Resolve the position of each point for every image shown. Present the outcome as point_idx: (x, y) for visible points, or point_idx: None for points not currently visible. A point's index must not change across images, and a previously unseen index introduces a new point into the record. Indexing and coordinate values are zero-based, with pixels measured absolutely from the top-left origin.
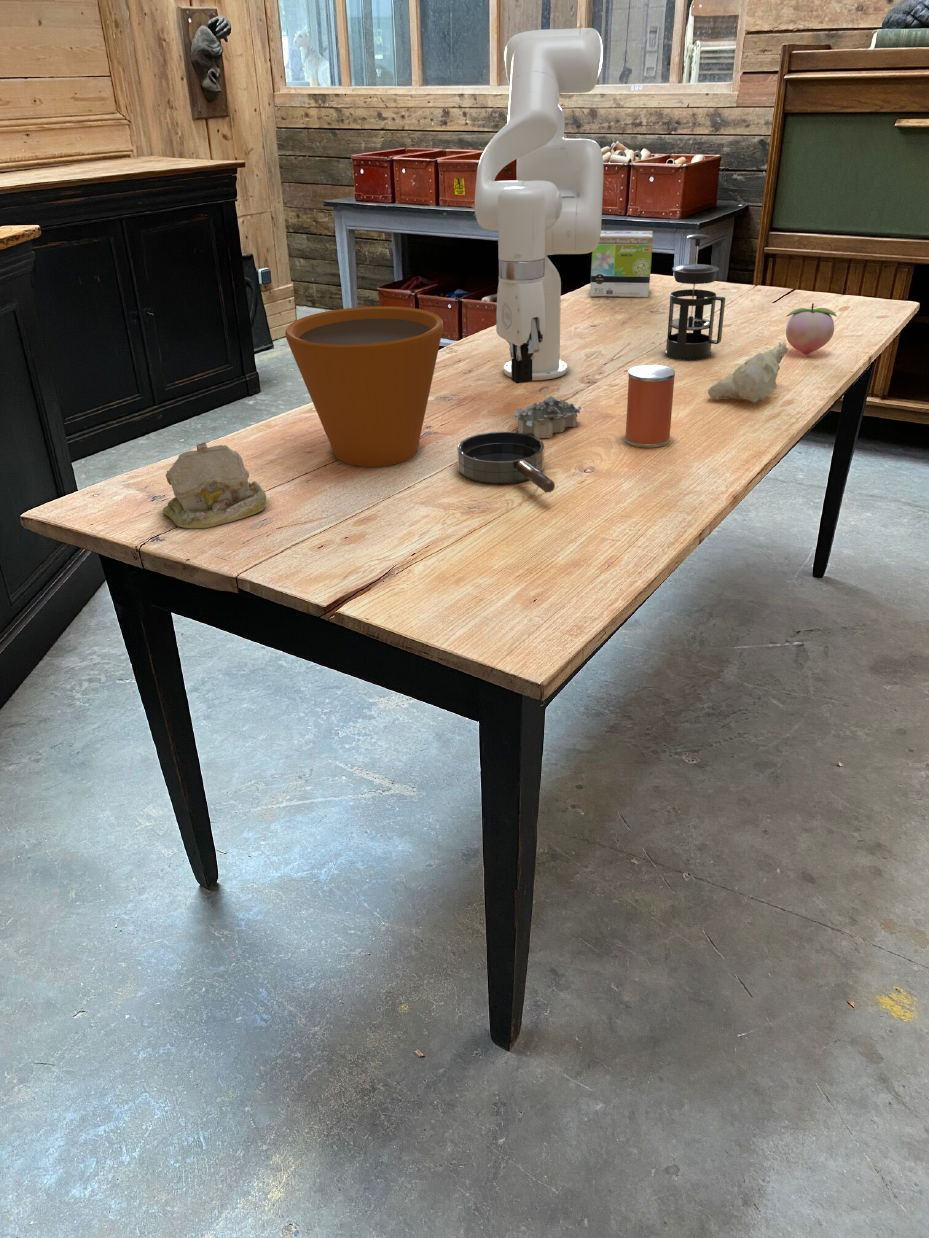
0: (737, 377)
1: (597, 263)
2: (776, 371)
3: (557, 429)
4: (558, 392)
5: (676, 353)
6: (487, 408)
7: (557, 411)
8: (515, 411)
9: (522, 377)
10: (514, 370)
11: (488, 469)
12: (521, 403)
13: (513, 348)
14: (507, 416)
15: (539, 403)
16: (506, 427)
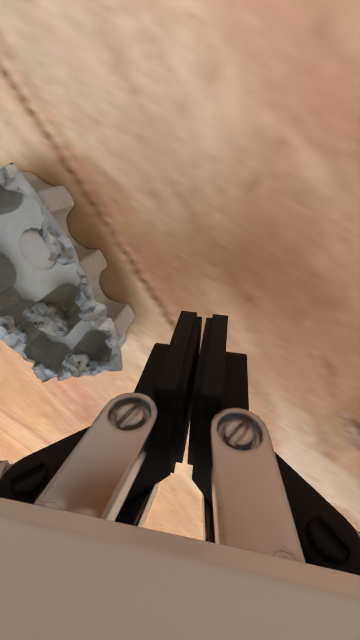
0: None
1: None
2: None
3: (11, 281)
4: (305, 443)
5: None
6: (345, 207)
7: (32, 323)
8: (34, 190)
9: (155, 346)
10: (182, 345)
11: None
12: (299, 332)
13: (212, 480)
14: (212, 228)
15: (99, 315)
16: (108, 164)
